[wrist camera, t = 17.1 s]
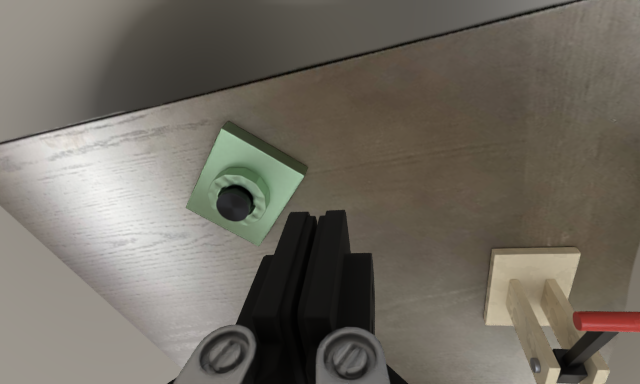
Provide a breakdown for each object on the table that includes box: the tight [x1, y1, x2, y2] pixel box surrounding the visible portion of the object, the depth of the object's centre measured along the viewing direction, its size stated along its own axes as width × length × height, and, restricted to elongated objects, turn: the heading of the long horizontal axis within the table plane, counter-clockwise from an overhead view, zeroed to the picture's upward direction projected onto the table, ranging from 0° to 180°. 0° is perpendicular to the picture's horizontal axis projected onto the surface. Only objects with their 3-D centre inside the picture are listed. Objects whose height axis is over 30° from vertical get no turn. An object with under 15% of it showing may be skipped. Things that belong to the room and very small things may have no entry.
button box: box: [186, 122, 308, 246], centre depth 41 cm, size 12×10×4 cm
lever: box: [552, 311, 640, 384], centre depth 31 cm, size 13×5×2 cm, turn 8°
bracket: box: [483, 247, 610, 384], centre depth 39 cm, size 12×9×13 cm
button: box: [216, 185, 253, 222], centre depth 39 cm, size 4×4×2 cm
